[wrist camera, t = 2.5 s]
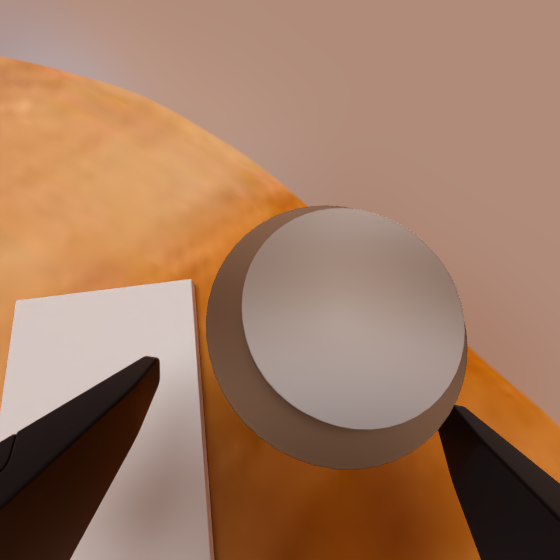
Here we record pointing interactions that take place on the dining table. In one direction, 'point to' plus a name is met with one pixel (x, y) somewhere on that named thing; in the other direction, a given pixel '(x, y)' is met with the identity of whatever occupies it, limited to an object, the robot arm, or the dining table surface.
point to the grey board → (157, 424)
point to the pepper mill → (337, 336)
